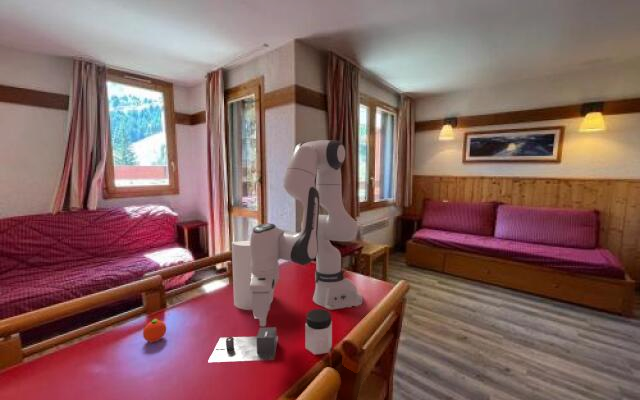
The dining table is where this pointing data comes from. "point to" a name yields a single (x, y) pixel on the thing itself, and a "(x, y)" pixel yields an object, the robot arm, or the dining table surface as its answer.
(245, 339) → the plate
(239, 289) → the cylinder
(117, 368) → the dining table surface
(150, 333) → the clementine
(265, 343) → the dark gray cube
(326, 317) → the jar
